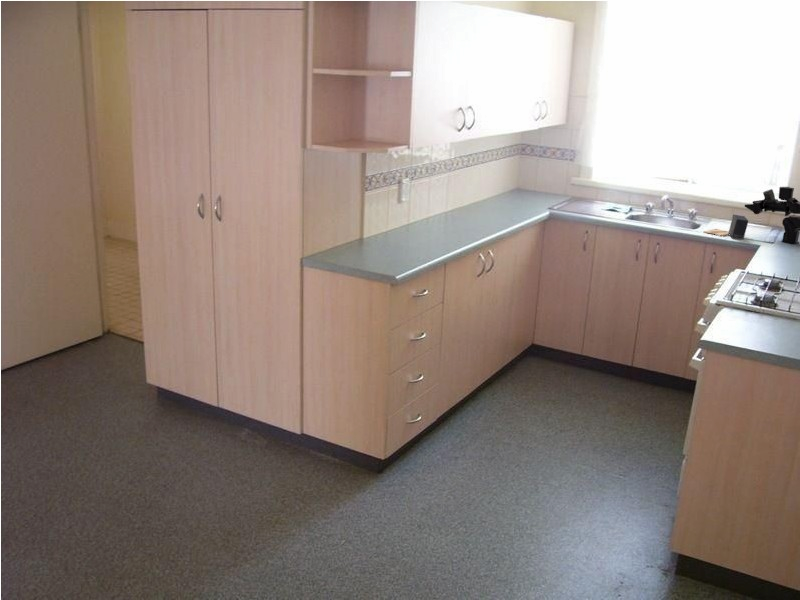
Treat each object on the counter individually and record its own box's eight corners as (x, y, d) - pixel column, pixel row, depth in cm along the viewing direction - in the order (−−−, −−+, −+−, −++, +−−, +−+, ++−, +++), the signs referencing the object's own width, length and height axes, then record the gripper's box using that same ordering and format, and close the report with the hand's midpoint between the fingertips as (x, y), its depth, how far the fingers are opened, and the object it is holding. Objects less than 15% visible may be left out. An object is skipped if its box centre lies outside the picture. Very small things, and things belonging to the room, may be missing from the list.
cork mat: (734, 233, 427) (734, 232, 427) (722, 236, 419) (722, 235, 419) (715, 229, 435) (715, 228, 435) (703, 232, 427) (703, 231, 427)
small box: (744, 239, 415) (749, 220, 411) (731, 238, 416) (736, 218, 412) (740, 234, 424) (745, 215, 421) (727, 232, 425) (732, 214, 422)
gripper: (786, 187, 418) (757, 186, 430) (770, 194, 407) (741, 192, 418) (785, 208, 422) (756, 206, 433) (769, 215, 410) (740, 213, 421)
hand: (748, 203), depth 426 cm, fingers open, 9 cm apart
